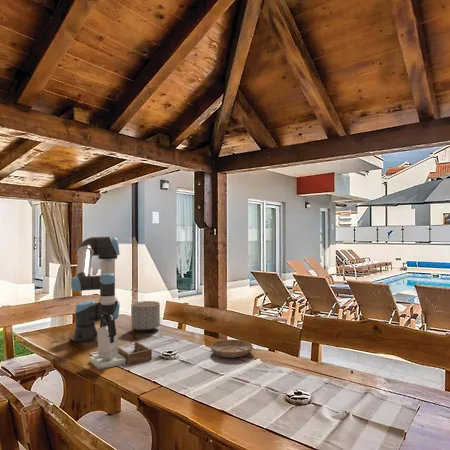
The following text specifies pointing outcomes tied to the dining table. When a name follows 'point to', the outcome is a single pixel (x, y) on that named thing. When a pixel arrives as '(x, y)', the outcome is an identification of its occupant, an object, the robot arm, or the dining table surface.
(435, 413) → the dining table surface
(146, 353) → the box
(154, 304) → the planter
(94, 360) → the tray
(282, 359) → the dining table surface
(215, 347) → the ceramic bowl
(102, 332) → the skincare box
